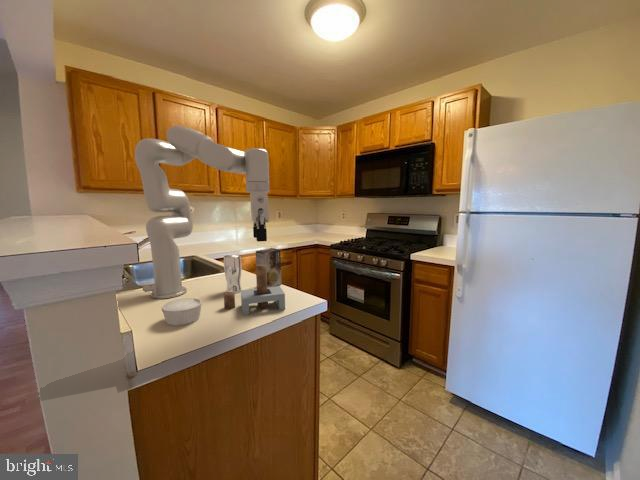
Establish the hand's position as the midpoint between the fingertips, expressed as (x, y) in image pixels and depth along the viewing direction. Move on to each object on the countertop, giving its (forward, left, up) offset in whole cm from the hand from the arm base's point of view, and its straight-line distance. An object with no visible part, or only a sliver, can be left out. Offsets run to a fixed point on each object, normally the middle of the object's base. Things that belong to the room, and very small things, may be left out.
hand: (259, 239), depth 91 cm
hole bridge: (0, 0, -24) cm, 24 cm away
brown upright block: (-11, +4, -24) cm, 27 cm away
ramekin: (-25, -1, -25) cm, 35 cm away
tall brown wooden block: (0, 0, -24) cm, 24 cm away
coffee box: (+6, +24, -24) cm, 35 cm away
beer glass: (-9, +22, -24) cm, 34 cm away
